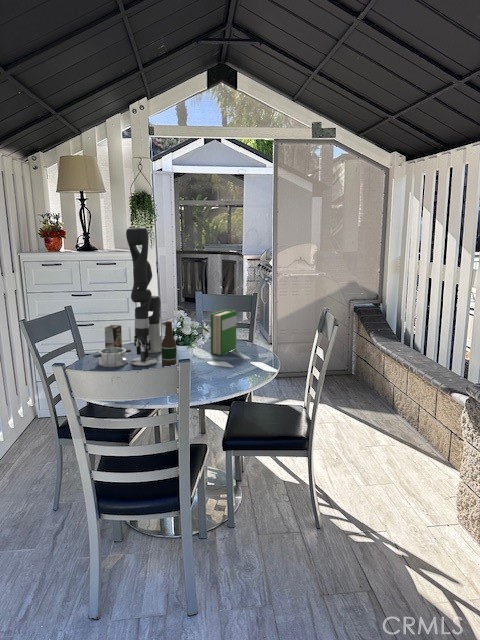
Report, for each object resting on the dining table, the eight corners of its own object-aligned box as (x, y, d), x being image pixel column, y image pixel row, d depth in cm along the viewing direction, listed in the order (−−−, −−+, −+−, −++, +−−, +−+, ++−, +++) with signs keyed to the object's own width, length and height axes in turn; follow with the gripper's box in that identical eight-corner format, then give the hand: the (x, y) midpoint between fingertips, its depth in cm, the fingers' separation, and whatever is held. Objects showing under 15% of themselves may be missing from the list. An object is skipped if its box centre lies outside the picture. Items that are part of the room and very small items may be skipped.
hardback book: (221, 356, 264) (222, 315, 259) (210, 354, 267) (210, 314, 263) (235, 349, 279) (236, 310, 275) (225, 348, 283) (225, 309, 278)
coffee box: (115, 356, 261) (114, 328, 258) (105, 355, 262) (103, 327, 259) (122, 352, 270) (121, 325, 267) (112, 351, 271) (111, 324, 268)
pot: (124, 357, 258) (124, 345, 257) (136, 363, 248) (135, 350, 247) (89, 363, 246) (88, 350, 244) (100, 369, 235) (99, 356, 234)
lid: (148, 358, 257) (148, 347, 256) (161, 364, 247) (161, 352, 245) (126, 363, 248) (125, 351, 247) (138, 369, 238) (137, 356, 237)
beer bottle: (179, 365, 244) (179, 321, 240) (170, 369, 238) (169, 323, 233) (168, 363, 248) (167, 319, 243) (158, 367, 241) (157, 322, 237)
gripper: (154, 327, 240) (155, 358, 243) (142, 323, 251) (142, 352, 254) (141, 329, 236) (142, 360, 239) (129, 325, 247) (130, 354, 249)
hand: (142, 356), depth 246 cm, fingers open, 8 cm apart
